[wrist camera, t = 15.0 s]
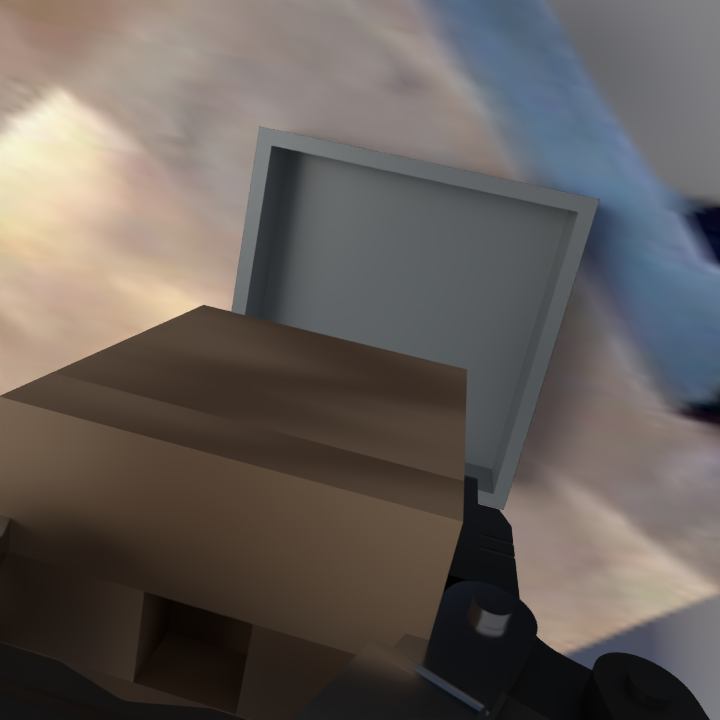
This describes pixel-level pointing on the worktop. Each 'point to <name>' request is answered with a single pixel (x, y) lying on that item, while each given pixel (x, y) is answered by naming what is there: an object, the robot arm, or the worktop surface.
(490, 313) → the tray
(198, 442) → the walnut block
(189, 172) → the worktop surface
